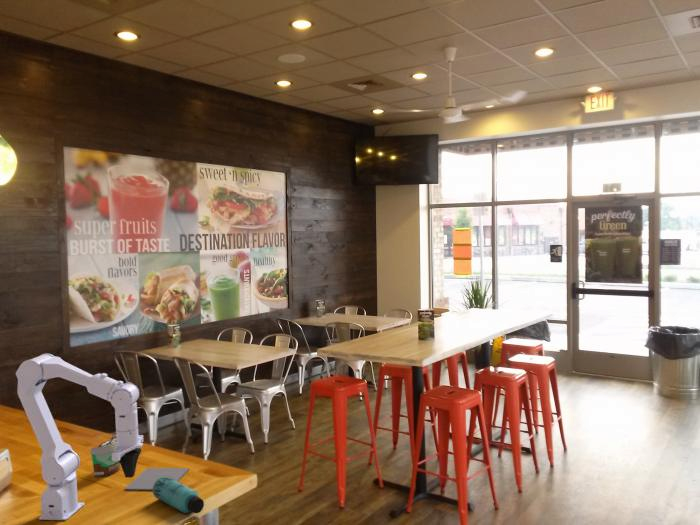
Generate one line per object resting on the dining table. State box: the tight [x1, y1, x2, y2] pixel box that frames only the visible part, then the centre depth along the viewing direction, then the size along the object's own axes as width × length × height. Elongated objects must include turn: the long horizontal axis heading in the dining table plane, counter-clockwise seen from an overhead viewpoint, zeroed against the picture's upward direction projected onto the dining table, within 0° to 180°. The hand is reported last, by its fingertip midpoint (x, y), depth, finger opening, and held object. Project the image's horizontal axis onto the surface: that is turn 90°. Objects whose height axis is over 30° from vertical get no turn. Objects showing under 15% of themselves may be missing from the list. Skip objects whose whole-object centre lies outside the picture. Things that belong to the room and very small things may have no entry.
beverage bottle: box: [152, 476, 205, 514], centre depth 166 cm, size 6×7×20 cm
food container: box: [89, 434, 121, 478], centre depth 192 cm, size 12×6×10 cm, turn 168°
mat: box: [124, 467, 190, 491], centre depth 185 cm, size 16×14×1 cm
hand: (129, 476), depth 165 cm, fingers closed
